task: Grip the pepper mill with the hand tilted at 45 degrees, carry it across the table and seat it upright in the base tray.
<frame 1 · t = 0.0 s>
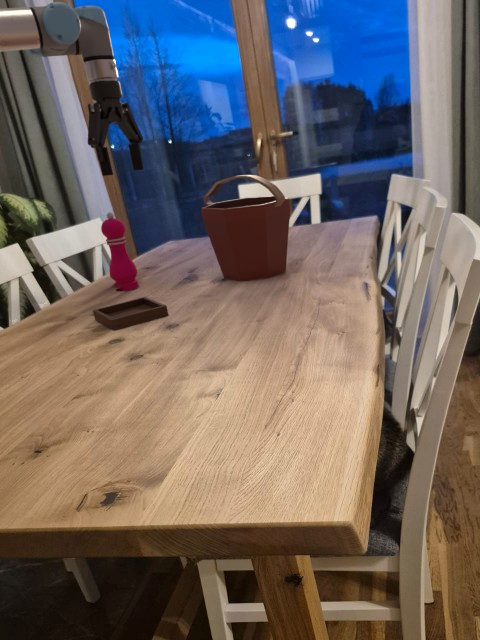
hand: (123, 172, 153), 29 cm above the table, tool pointing down, fingers open, 13 cm apart
bucket: (256, 273, 159), on the table
pepper mill: (127, 289, 158), on the table
base tray: (131, 317, 130), on the table
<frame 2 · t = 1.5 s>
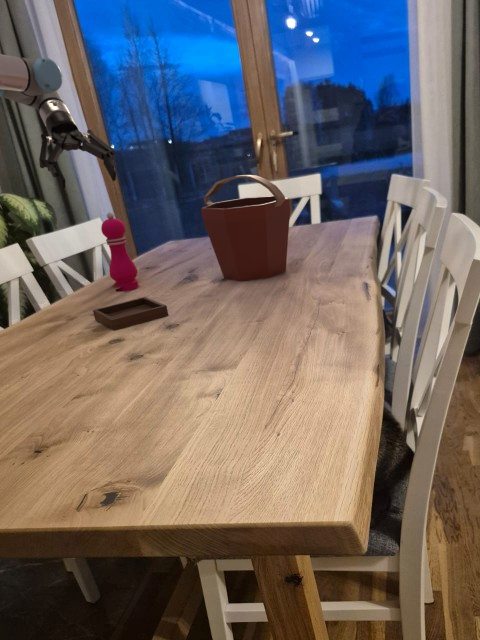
hand: (89, 180, 154), 28 cm above the table, tool tilted 45°, fingers open, 13 cm apart
nothing on the table moved.
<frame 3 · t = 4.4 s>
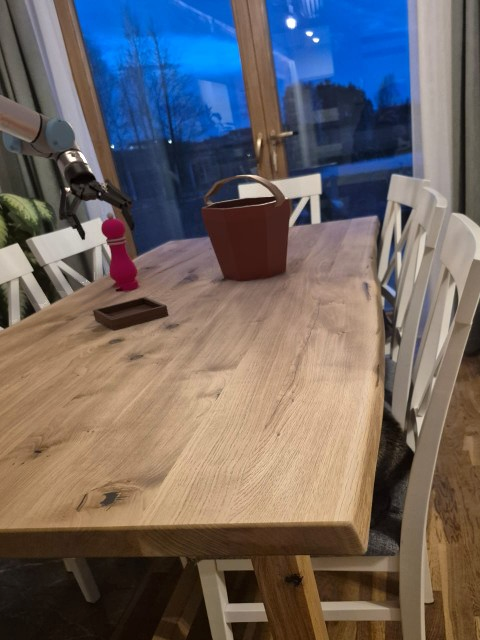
hand: (108, 231, 155), 15 cm above the table, tool tilted 45°, fingers open, 13 cm apart
nothing on the table moved.
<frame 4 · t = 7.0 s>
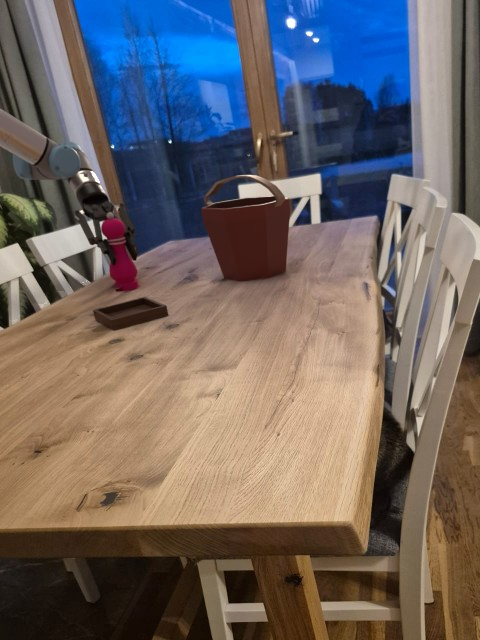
hand: (125, 259, 151), 8 cm above the table, tool tilted 45°, fingers closed on pepper mill, 5 cm apart
pepper mill: (127, 289, 158), on the table, touching gripper
everything else where it was.
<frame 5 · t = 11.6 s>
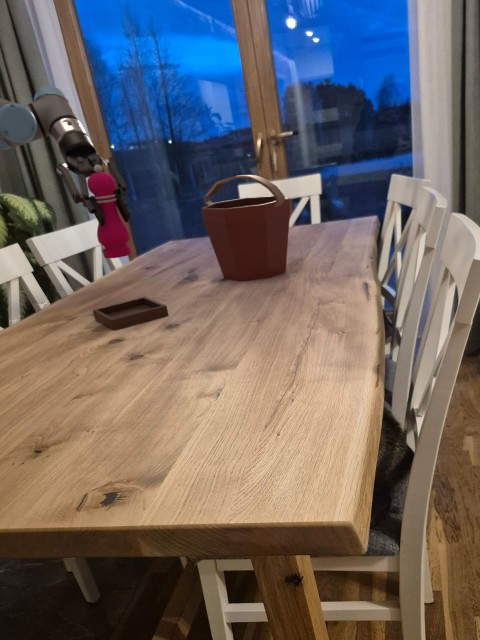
hand: (115, 220, 130), 20 cm above the table, tool tilted 45°, fingers closed on pepper mill, 5 cm apart
pepper mill: (118, 256, 137), point 12 cm above the table, touching gripper
everything else where it was.
when the fingers open (9 cm above the table, at t = 16.5 s): pepper mill stays where it is, resting on base tray.
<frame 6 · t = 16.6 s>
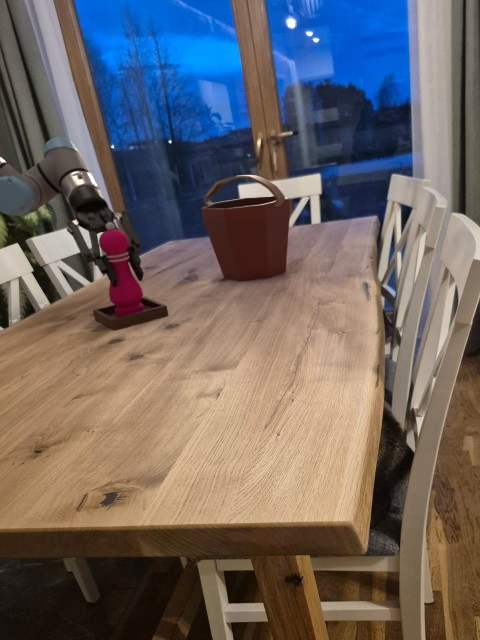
hand: (128, 280, 123), 9 cm above the table, tool tilted 45°, fingers open, 5 cm apart
pepper mill: (130, 314, 130), point 1 cm above the table, touching base tray
everything else where it was.
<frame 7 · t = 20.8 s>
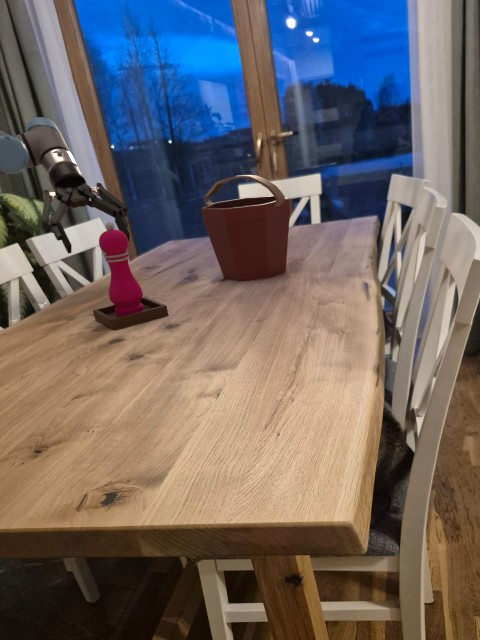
hand: (99, 243, 133), 15 cm above the table, tool tilted 45°, fingers open, 13 cm apart
nothing on the table moved.
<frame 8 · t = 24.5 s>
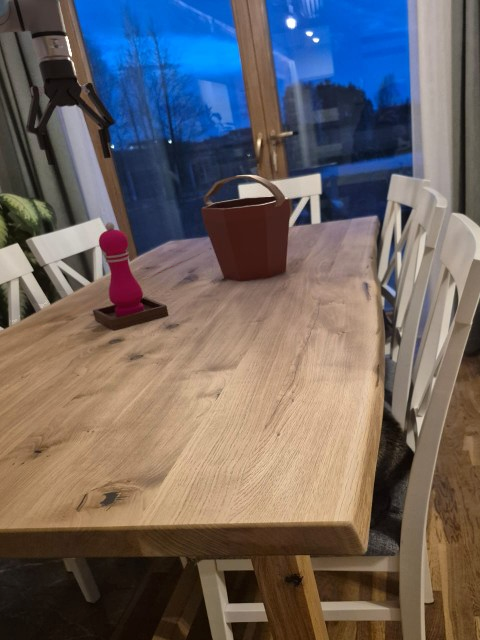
hand: (80, 161, 140), 33 cm above the table, tool pointing down, fingers open, 13 cm apart
nothing on the table moved.
at the end: pepper mill 0.0 cm off-centre in the base tray, point 0.6 cm above the base tray's base; pepper mill tilted 0°; the gripper is holding nothing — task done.
